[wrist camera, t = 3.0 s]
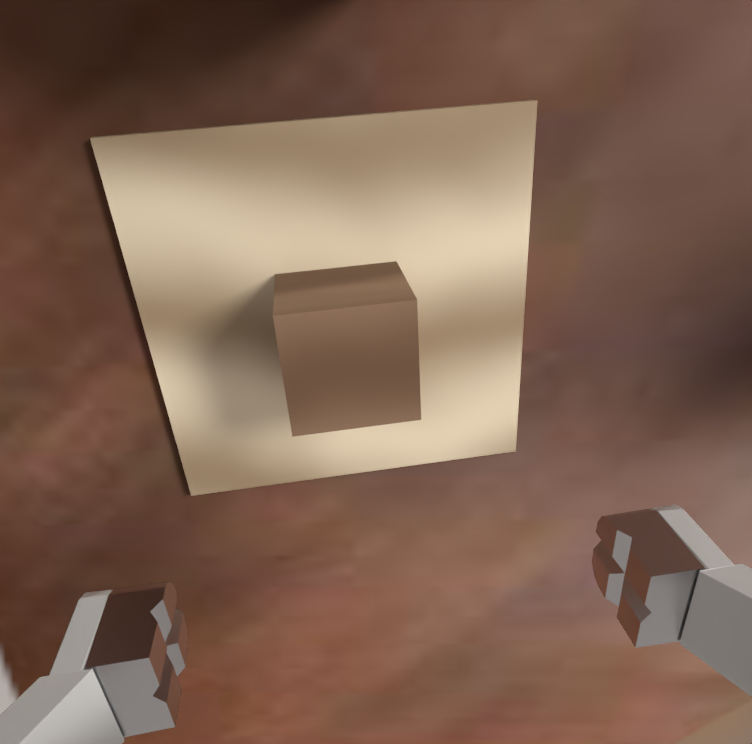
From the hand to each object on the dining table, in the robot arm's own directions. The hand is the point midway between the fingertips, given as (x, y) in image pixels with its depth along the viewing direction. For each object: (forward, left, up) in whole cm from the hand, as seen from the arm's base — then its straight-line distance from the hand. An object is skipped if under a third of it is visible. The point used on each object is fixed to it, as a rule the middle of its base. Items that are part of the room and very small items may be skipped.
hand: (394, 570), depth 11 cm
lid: (-1, 0, -12) cm, 12 cm away
